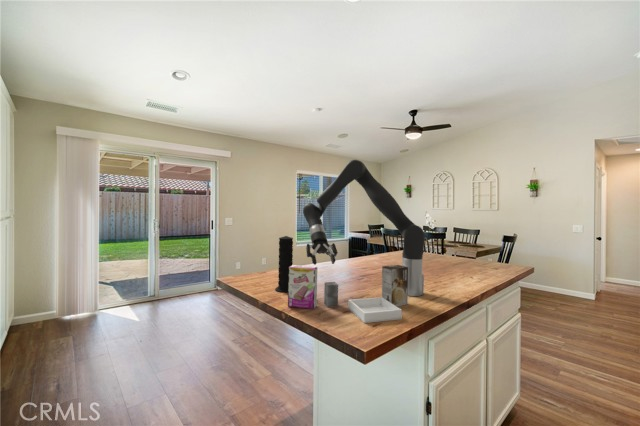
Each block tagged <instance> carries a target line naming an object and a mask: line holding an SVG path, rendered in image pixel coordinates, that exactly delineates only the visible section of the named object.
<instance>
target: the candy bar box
mask: <svg viewBox="0 0 640 426" xmlns="http://www.w3.org/2000/svg"><path fill="white" fill-rule="evenodd" d="M317 294H318V266H315V265H314V266H313V265H312V266H311V265H299V264H292V265H291V266H290V267H289V282H288V292H287V307H289V308H297V309H299V308H300V309H307V310H308V309H309V310H314V309H315V308H316V307H317V303H318V302H317V298H318V297H317V296H318V295H317Z"/></svg>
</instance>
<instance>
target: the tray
mask: <svg viewBox="0 0 640 426" xmlns="http://www.w3.org/2000/svg"><path fill="white" fill-rule="evenodd" d="M347 302H348V303H347V304H348V305H347V309H348V310H350V312H351V313H352V314H354V315H355V316H356V317H357V318H358V319H359V320H360V321H361V322H363V324H369V323H377V322H378V323H379V322H389V321H396V320H403V319H402V312H403V309H401V308H399V306H395V305H393V304H392V303H390V302H389V301H387V300H385V299H384V298H382V296H378V297H367V298H354V299H348V301H347Z"/></svg>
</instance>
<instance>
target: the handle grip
mask: <svg viewBox="0 0 640 426" xmlns="http://www.w3.org/2000/svg"><path fill="white" fill-rule="evenodd" d="M278 245H279V246H278V275H277V277H278V282H277V284H278V286H276V287H275V289H274V291H275V292H277V293H283V294H285V293H286V294H288V282H289V267H290V266H291V265H294V264H293V260H294V259H293V257H294V255H293V253H294V246H293V245H294V238H293V237H290V236H288V235H284V236H281V237H279V238H278Z"/></svg>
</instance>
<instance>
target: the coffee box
mask: <svg viewBox="0 0 640 426" xmlns="http://www.w3.org/2000/svg"><path fill="white" fill-rule="evenodd" d="M381 269H382V270H381V279H382V280H381V297H382V298H384V299H385V300H387V301H389V302H390V303H392V304H393V305H395V306H396V307H400V306H406V305H408V300H409V298H408V267H405V266H402V264H401V265H400V264H391V265H382V267H381Z"/></svg>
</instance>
